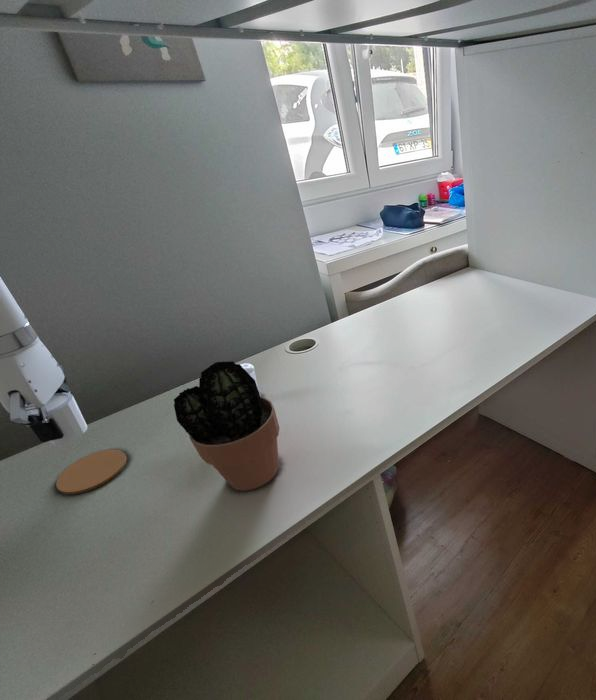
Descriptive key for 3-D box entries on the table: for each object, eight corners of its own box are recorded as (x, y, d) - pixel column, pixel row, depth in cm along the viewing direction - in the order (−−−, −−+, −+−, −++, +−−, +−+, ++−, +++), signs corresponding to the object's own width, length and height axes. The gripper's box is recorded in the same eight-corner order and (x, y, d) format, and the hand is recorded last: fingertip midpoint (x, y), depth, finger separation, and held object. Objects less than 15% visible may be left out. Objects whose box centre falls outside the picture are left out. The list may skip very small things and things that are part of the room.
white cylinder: (88, 416, 85) (69, 387, 81) (94, 433, 81) (75, 402, 77) (43, 434, 81) (21, 404, 77) (47, 453, 77) (24, 421, 73)
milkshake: (237, 406, 102) (222, 370, 96) (250, 392, 106) (237, 357, 101) (255, 407, 101) (241, 371, 96) (267, 393, 105) (255, 358, 100)
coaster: (46, 501, 80) (44, 499, 79) (71, 460, 89) (69, 457, 88) (116, 484, 83) (115, 482, 82) (133, 445, 92) (132, 443, 91)
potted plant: (261, 439, 92) (221, 333, 79) (307, 461, 85) (272, 350, 73) (199, 484, 82) (141, 371, 69) (246, 513, 75) (193, 395, 63)
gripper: (4, 321, 77) (58, 402, 86) (-61, 373, 62) (12, 464, 72) (56, 313, 79) (103, 393, 88) (4, 362, 64) (67, 452, 74)
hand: (62, 425), depth 80 cm, fingers closed on white cylinder, 6 cm apart
